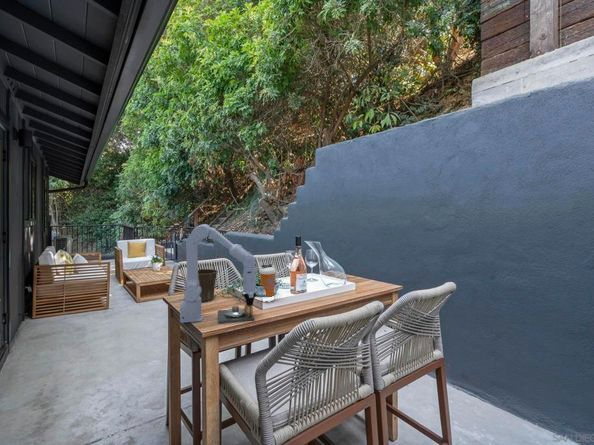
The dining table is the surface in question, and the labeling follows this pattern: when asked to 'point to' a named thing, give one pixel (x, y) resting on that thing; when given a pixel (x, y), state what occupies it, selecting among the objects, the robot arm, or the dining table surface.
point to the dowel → (248, 311)
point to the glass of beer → (268, 279)
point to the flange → (238, 311)
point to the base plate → (232, 318)
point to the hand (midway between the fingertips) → (249, 309)
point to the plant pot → (207, 283)
